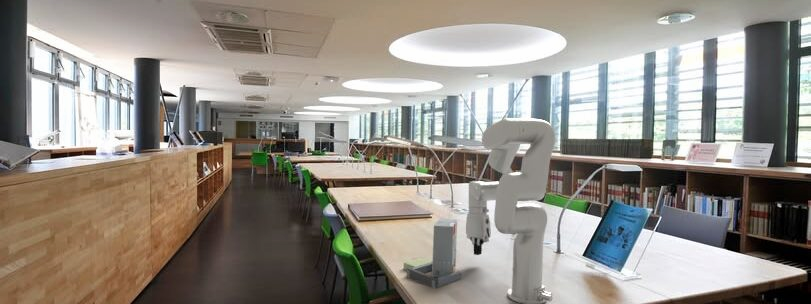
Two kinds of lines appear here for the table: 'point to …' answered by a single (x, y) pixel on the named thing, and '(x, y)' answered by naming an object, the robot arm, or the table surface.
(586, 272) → the table surface
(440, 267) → the hard drive box
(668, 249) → the table surface
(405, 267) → the light green block
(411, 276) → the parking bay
